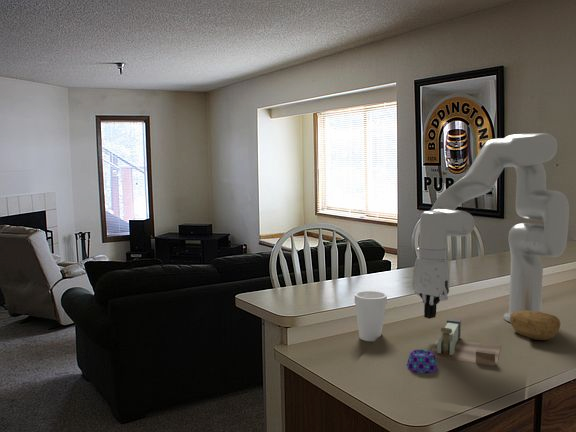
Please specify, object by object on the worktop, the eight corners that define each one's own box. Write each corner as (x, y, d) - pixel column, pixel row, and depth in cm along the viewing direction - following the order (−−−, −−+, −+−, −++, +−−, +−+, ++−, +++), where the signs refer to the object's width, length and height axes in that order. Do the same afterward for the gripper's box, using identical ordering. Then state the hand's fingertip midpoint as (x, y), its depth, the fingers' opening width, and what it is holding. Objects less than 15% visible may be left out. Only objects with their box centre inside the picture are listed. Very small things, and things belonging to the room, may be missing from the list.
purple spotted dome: (429, 387, 132) (430, 365, 132) (387, 373, 141) (388, 352, 140) (455, 372, 141) (456, 352, 140) (414, 360, 149) (414, 341, 149)
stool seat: (438, 341, 163) (438, 315, 162) (500, 350, 156) (501, 322, 155) (427, 360, 148) (428, 332, 147) (496, 370, 141) (497, 340, 140)
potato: (517, 329, 173) (518, 304, 172) (565, 340, 163) (566, 313, 162) (502, 336, 167) (503, 310, 166) (551, 348, 156) (552, 320, 156)
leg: (453, 355, 148) (453, 336, 147) (437, 352, 150) (437, 334, 149) (461, 336, 162) (461, 319, 162) (446, 335, 164) (447, 318, 163)
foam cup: (385, 344, 161) (386, 299, 160) (353, 342, 163) (353, 298, 162) (386, 333, 170) (387, 291, 169) (355, 331, 172) (356, 290, 171)
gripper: (403, 252, 164) (401, 313, 166) (446, 259, 152) (443, 325, 154) (419, 249, 168) (417, 309, 170) (462, 257, 157) (460, 321, 159)
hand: (429, 317), depth 162 cm, fingers closed
